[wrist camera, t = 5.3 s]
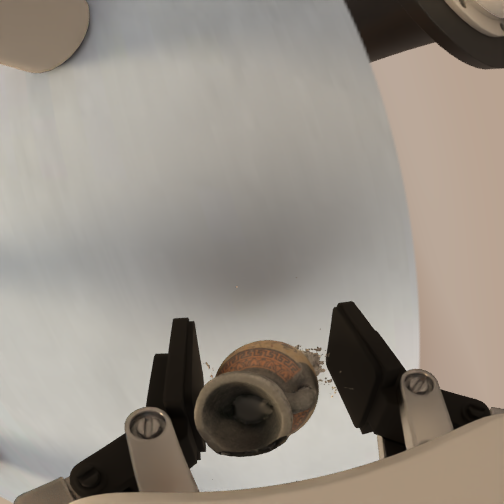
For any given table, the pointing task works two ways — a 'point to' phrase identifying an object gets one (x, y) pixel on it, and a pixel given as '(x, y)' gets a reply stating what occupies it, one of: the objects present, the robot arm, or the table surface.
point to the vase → (258, 398)
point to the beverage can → (41, 32)
